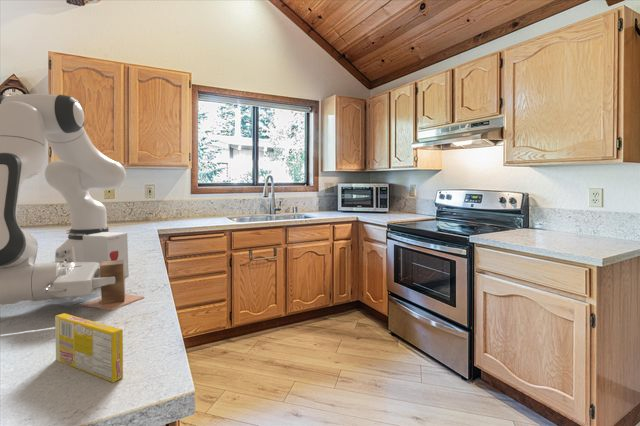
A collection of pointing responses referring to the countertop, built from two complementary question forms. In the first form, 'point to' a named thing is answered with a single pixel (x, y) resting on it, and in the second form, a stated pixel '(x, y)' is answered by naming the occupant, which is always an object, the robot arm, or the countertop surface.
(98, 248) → the supplement box
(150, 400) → the countertop surface
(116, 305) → the pad
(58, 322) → the candy box
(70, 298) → the grey square tile
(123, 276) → the walnut block
